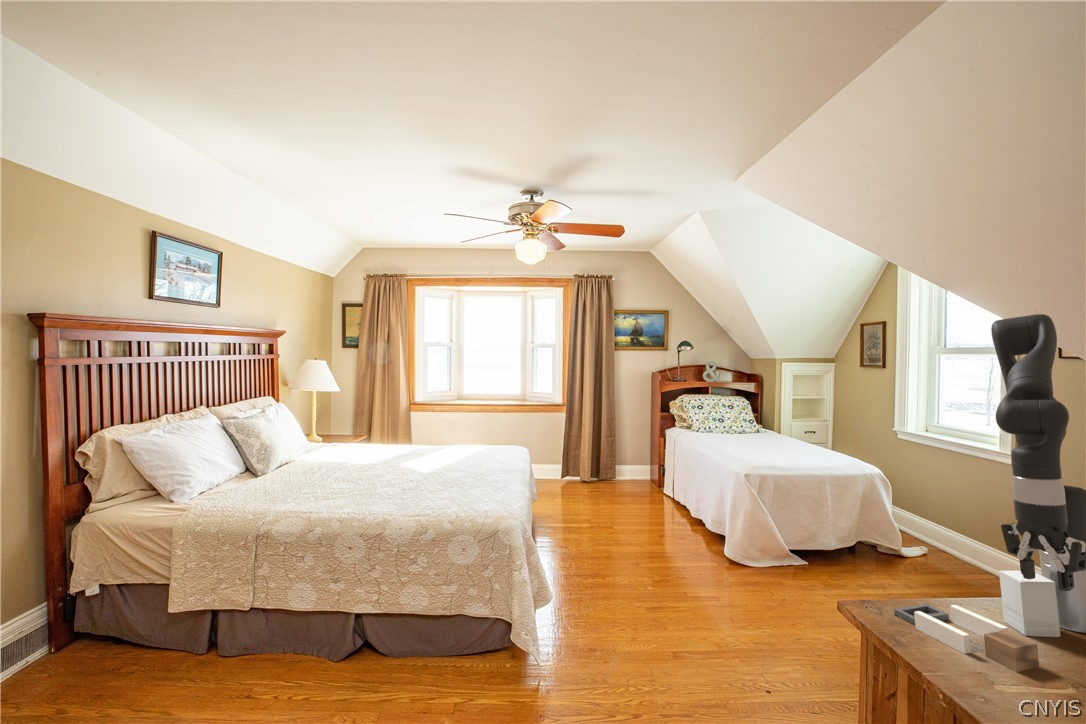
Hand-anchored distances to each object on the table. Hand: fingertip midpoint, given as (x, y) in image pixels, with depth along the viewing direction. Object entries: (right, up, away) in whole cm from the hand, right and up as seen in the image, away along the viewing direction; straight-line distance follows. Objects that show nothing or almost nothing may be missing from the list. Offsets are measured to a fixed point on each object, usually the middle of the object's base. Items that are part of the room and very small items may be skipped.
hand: (1046, 583), depth 100 cm
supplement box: (+16, -20, +19) cm, 32 cm away
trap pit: (-4, -21, +28) cm, 35 cm away
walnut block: (0, -20, +7) cm, 21 cm away
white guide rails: (-2, -20, +18) cm, 27 cm away
